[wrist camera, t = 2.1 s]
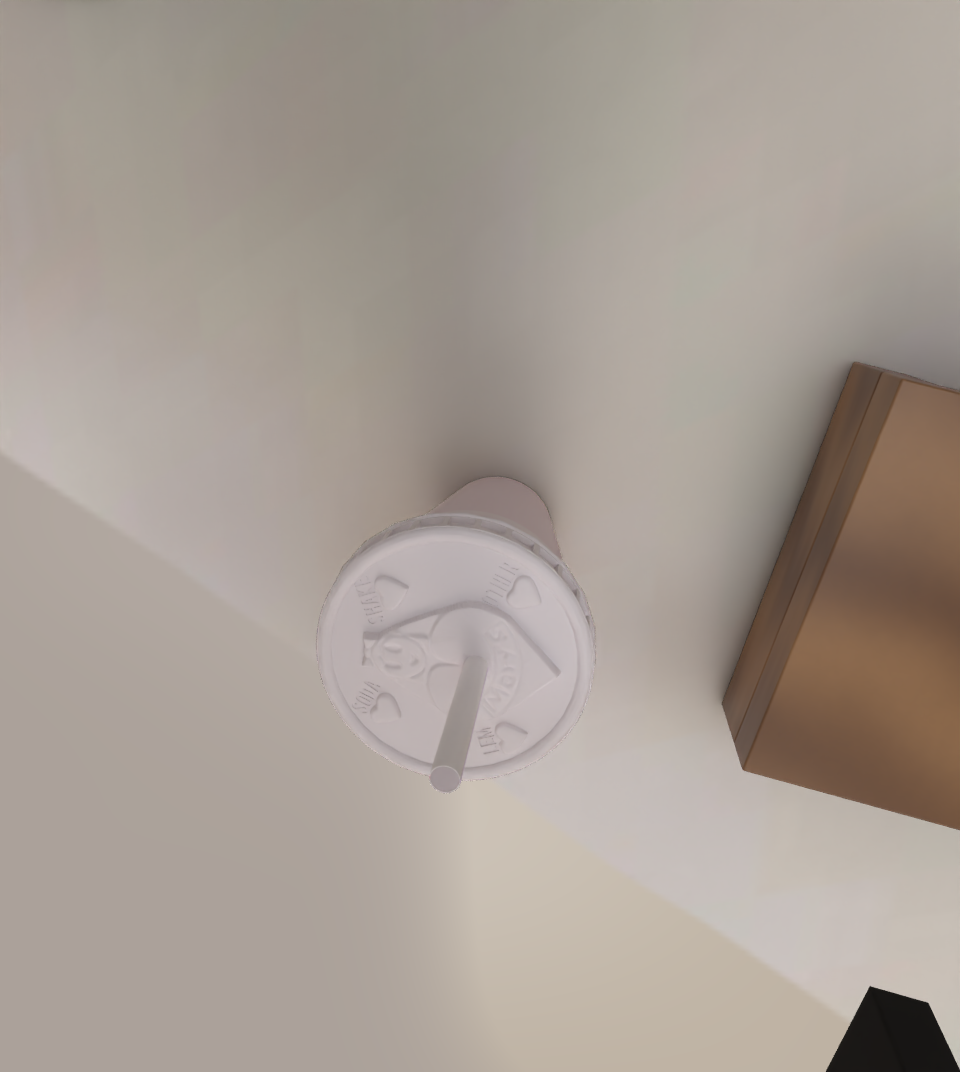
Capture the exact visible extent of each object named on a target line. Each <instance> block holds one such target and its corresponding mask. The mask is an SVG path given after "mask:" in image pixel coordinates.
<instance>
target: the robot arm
mask: <svg viewBox="0 0 960 1072" xmlns="http://www.w3.org/2000/svg"><path fill="white" fill-rule="evenodd" d="M826 1072H960V1069H959V1067H958V1065H957V1063H956V1061H955V1059H954V1057H953V1054H952V1052H951V1050H950V1048H949V1046H948V1044H947V1042H946V1040H945V1038H944V1035H943V1033H942V1031H941V1029H940V1027H939V1025H938V1023H937V1021H936V1018H935V1016H934V1014H933V1012H932V1010H931V1008H930V1006H929V1004H928V1003H927V1002H923V1001H920V1000H916V999H913V998H909V997H906V996H902V995H899V994H895V993H892V992H888V991H885V990H881V989H878V988H874V987H871V986H870V987H869V989H868V991H867V993H866V995H865V997H864V999H863V1001H862V1003H861V1005H860V1006H859V1008H858V1010H857V1012H856V1014H855V1016H854V1018H853V1020H852V1022H851V1024H850V1026H849V1028H848V1030H847V1032H846V1034H845V1036H844V1038H843V1039H842V1041H841V1043H840V1045H839V1047H838V1049H837V1051H836V1053H835V1055H834V1057H833V1059H832V1061H831V1062H830V1065H829V1066H828V1068H827V1070H826Z"/></svg>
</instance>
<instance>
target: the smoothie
mask: <svg viewBox="0 0 960 1072" xmlns="http://www.w3.org/2000/svg"><path fill="white" fill-rule="evenodd" d="M316 650H317V661H318V667H319V671H320V675H321V679H322V682H323V685H324V688H325V690H326V693H327V695H328V697H329V699H330V701H331V703H332V705H333V707H334V708H335V710H336V712H337V713H338V715H339V716H340V717H341V719H342V720H343V722H344V723H345V724H346V725H347V727H348V728H349V729H350V730H351V731H352V732H353V733H354V734H355V735H356V736H357V737H358V738H359V739H360V740H361V741H362V742H363V743H364V744H366V745H367V746H368V747H369V748H371V749H372V750H373V751H375V752H376V753H377V754H379V755H380V756H382V757H383V758H385V759H387V760H389V761H391V762H393V763H394V764H396V765H398V766H401V767H403V768H405V769H407V770H410V771H413V772H416V773H419V774H422V775H426V776H429V781H430V784H431V786H432V787H433V788H434V789H435V790H437V791H439V792H442V793H451V792H454V791H456V790H457V789H458V787H459V786H460V783H461V781H463V780H464V781H472V780H484V779H490V778H496V777H500V776H503V775H507V774H510V773H513V772H516V771H518V770H521V769H523V768H525V767H527V766H529V765H531V764H533V763H535V762H536V761H538V760H540V759H541V758H543V757H544V756H546V755H547V754H548V753H550V752H551V751H552V750H553V749H554V748H556V747H557V746H558V745H559V744H560V743H561V742H562V741H563V740H564V739H565V738H566V736H567V735H568V734H569V733H570V732H571V730H572V729H573V727H574V726H575V725H576V723H577V721H578V720H579V718H580V716H581V714H582V713H583V710H584V708H585V706H586V703H587V701H588V697H589V694H590V691H591V686H592V681H593V674H594V665H595V662H596V644H595V625H594V622H593V618H592V615H591V612H590V609H589V606H588V602H587V599H586V596H585V593H584V592H583V590H582V589H581V587H580V586H579V584H578V583H577V581H576V579H575V578H574V576H573V575H572V573H571V572H570V570H569V569H568V567H567V566H566V564H565V563H564V562H563V560H562V556H561V553H560V549H559V546H558V542H557V539H556V536H555V532H554V529H553V525H552V522H551V518H550V515H549V512H548V510H547V508H546V506H545V504H544V503H543V501H542V500H541V498H540V497H539V496H538V495H537V494H536V493H535V492H534V491H533V490H532V489H530V488H529V487H528V486H526V485H524V484H523V483H521V482H518V481H516V480H513V479H510V478H505V477H485V478H481V479H478V480H475V481H472V482H470V483H468V484H467V485H465V486H464V487H462V488H461V489H460V490H458V491H457V492H455V493H454V494H453V495H451V496H450V497H449V498H447V499H446V500H445V501H443V502H442V503H440V504H439V505H438V506H436V507H435V508H434V509H432V510H431V511H430V512H428V513H427V514H425V515H421V516H418V517H415V518H411V519H408V520H404V521H401V522H397V523H394V524H393V525H391V526H389V527H388V528H386V529H385V530H383V531H381V532H380V533H378V534H377V535H375V536H373V537H372V538H370V539H368V540H367V541H365V542H364V543H363V544H362V545H361V547H360V548H359V549H358V550H357V551H356V552H355V553H354V554H353V555H352V557H351V558H350V559H349V560H348V561H347V562H346V563H345V564H344V565H343V567H342V569H341V571H340V573H339V575H338V577H337V579H336V581H335V583H334V584H333V586H332V588H331V589H330V591H329V593H328V595H327V597H326V600H325V602H324V604H323V607H322V610H321V614H320V617H319V622H318V628H317V639H316Z"/></svg>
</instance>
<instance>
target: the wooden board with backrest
mask: <svg viewBox="0 0 960 1072" xmlns="http://www.w3.org/2000/svg"><path fill="white" fill-rule="evenodd" d="M722 706H723V709H724V712H725V716H726V719H727V722H728V725H729V728H730V731H731V735H732V738H733V741H734V743H735V747H736V751H737V754H738V757H739V760H740V763H741V767H742V769H743V770H744V771H747V772H751V773H754V774H758V775H762V776H765V777H769V778H773V779H776V780H780V781H783V782H787V783H791V784H794V785H798V786H802V787H805V788H809V789H813V790H816V791H820V792H823V793H827V794H831V795H834V796H838V797H842V798H845V799H849V800H852V801H856V802H860V803H863V804H867V805H871V806H874V807H878V808H881V809H885V810H889V811H892V812H896V813H900V814H903V815H907V816H911V817H914V818H918V819H921V820H925V821H929V822H932V823H936V824H940V825H943V826H947V827H950V828H954V829H958V830H960V391H959V390H955V389H951V388H947V387H943V386H939V385H936V384H933V383H930V382H927V381H924V380H921V379H918V378H915V377H912V376H909V375H906V374H902V373H898V372H894V371H890V370H886V369H882V368H879V367H875V366H871V365H867V364H863V363H859V362H854V363H853V365H852V368H851V370H850V373H849V376H848V378H847V381H846V383H845V386H844V389H843V391H842V394H841V396H840V399H839V402H838V404H837V407H836V409H835V412H834V415H833V417H832V420H831V422H830V425H829V428H828V430H827V433H826V435H825V438H824V440H823V443H822V446H821V448H820V451H819V453H818V456H817V459H816V461H815V464H814V466H813V469H812V472H811V474H810V477H809V479H808V482H807V485H806V487H805V490H804V492H803V495H802V498H801V500H800V503H799V505H798V508H797V510H796V513H795V516H794V518H793V521H792V523H791V526H790V529H789V531H788V534H787V536H786V539H785V542H784V544H783V547H782V549H781V552H780V555H779V557H778V560H777V562H776V565H775V568H774V570H773V573H772V575H771V578H770V580H769V583H768V586H767V588H766V591H765V593H764V596H763V599H762V601H761V604H760V606H759V609H758V612H757V614H756V617H755V619H754V622H753V625H752V627H751V630H750V632H749V635H748V637H747V640H746V643H745V645H744V648H743V650H742V653H741V656H740V658H739V661H738V663H737V666H736V669H735V671H734V674H733V676H732V679H731V682H730V684H729V687H728V689H727V692H726V695H725V697H724V700H723V702H722Z"/></svg>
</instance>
